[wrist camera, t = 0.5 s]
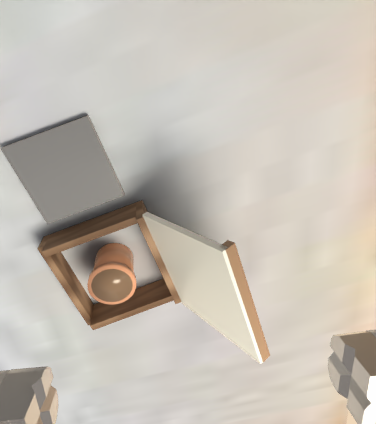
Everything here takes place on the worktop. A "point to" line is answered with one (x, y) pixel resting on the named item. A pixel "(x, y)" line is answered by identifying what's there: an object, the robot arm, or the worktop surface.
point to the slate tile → (64, 169)
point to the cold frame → (89, 231)
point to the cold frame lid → (210, 283)
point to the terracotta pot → (112, 275)
